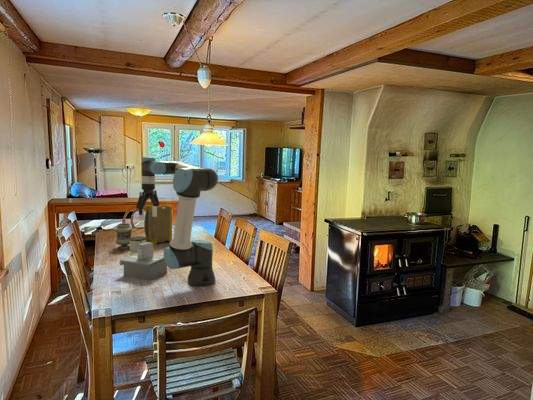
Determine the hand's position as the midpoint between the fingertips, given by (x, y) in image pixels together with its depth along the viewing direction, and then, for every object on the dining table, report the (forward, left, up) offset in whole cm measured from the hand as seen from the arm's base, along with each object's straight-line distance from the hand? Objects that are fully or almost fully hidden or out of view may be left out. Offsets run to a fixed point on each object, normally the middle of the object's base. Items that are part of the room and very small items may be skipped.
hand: (148, 218), depth 214 cm
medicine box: (-4, +8, -22) cm, 24 cm away
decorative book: (+34, -61, -31) cm, 77 cm away
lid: (-3, +9, -25) cm, 27 cm away
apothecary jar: (+46, -35, -31) cm, 66 cm away
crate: (-4, +9, -31) cm, 33 cm away
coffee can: (+20, -16, -31) cm, 41 cm away
